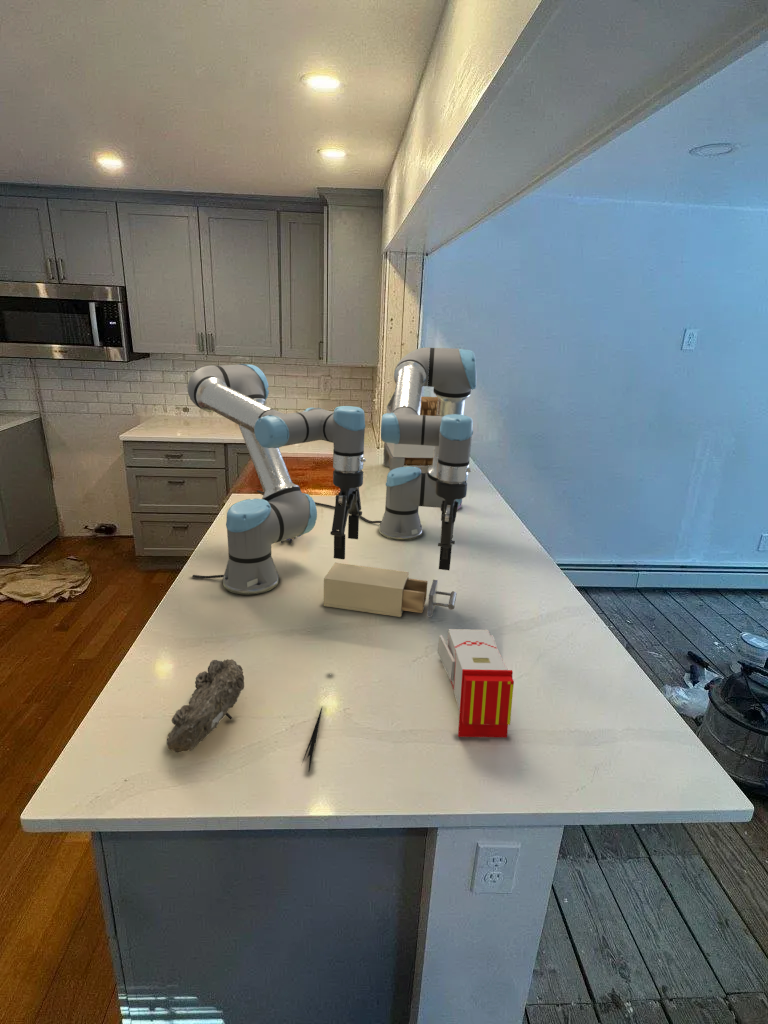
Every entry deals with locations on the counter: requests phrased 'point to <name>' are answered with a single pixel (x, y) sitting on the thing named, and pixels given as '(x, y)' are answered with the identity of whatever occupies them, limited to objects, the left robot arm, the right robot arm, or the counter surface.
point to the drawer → (423, 596)
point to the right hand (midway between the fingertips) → (444, 568)
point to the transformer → (406, 452)
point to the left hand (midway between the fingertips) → (346, 548)
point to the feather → (313, 740)
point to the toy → (478, 682)
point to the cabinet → (365, 589)
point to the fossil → (206, 705)
